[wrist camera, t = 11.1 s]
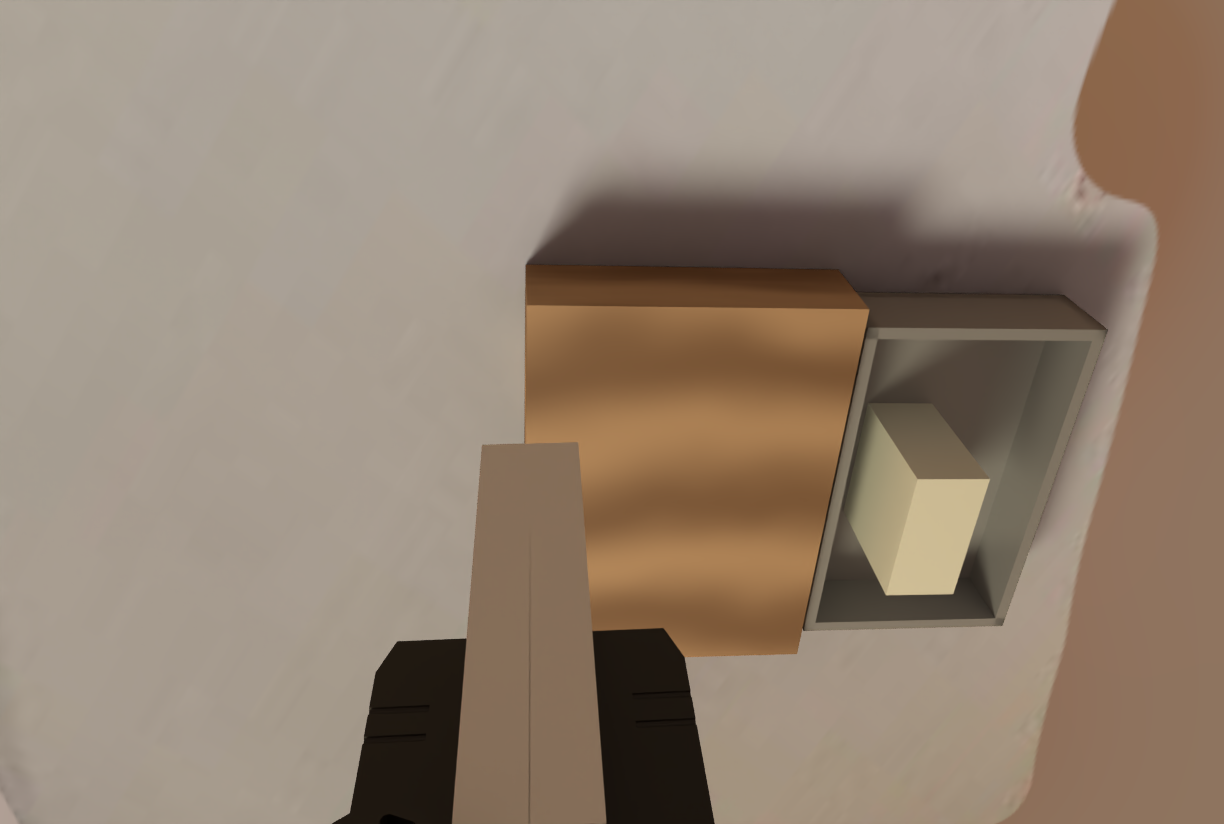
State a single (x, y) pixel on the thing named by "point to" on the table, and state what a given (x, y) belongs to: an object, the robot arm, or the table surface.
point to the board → (696, 438)
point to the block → (913, 498)
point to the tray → (983, 421)
